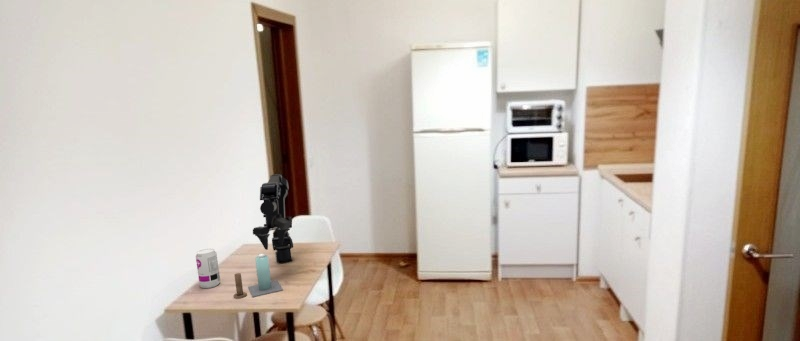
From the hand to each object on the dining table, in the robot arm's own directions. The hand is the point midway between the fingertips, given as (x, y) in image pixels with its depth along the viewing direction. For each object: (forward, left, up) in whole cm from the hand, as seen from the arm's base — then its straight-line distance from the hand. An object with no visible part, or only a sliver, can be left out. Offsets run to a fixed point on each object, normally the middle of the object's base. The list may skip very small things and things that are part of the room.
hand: (274, 247), depth 200 cm
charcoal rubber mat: (+7, +14, -13) cm, 20 cm away
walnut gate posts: (+12, +9, -13) cm, 20 cm away
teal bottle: (+7, +14, -12) cm, 20 cm away
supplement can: (+27, -5, -13) cm, 31 cm away
